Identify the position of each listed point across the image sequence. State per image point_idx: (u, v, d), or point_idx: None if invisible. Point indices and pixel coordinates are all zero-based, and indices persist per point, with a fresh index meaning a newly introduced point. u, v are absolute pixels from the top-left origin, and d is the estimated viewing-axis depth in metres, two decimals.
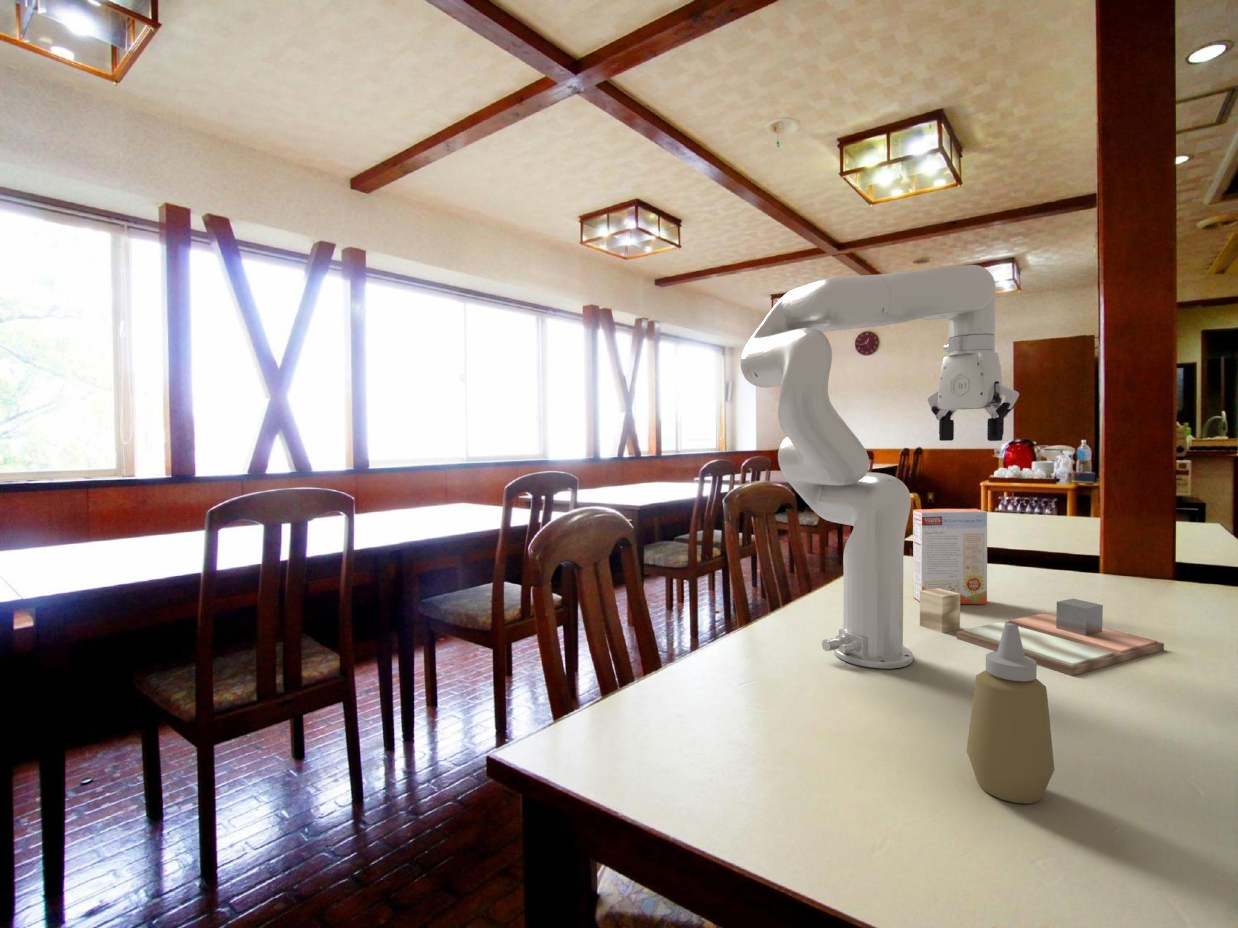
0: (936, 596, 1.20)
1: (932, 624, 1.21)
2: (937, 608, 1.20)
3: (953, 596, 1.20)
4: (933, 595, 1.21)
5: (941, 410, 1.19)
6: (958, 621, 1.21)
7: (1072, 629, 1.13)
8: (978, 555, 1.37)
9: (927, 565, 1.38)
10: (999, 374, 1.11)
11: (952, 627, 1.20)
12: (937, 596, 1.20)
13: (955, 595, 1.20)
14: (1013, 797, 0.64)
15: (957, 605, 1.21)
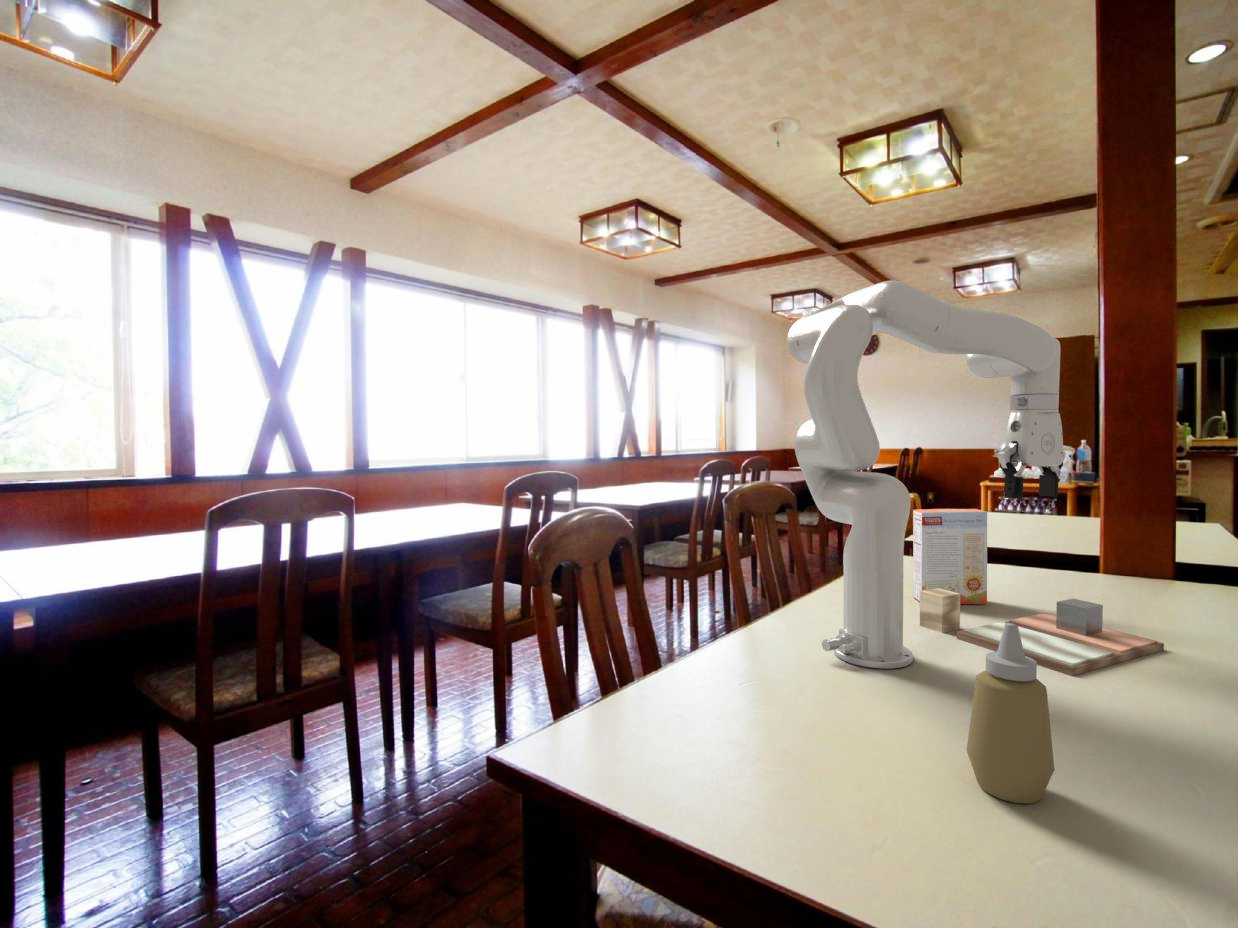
0: (936, 596, 1.20)
1: (932, 624, 1.21)
2: (937, 608, 1.20)
3: (953, 596, 1.20)
4: (933, 595, 1.21)
5: (1021, 467, 1.13)
6: (958, 622, 1.21)
7: (1072, 629, 1.13)
8: (978, 555, 1.37)
9: (927, 565, 1.38)
10: None
11: (952, 627, 1.20)
12: (937, 596, 1.20)
13: (955, 595, 1.20)
14: (1013, 797, 0.64)
15: (957, 605, 1.21)
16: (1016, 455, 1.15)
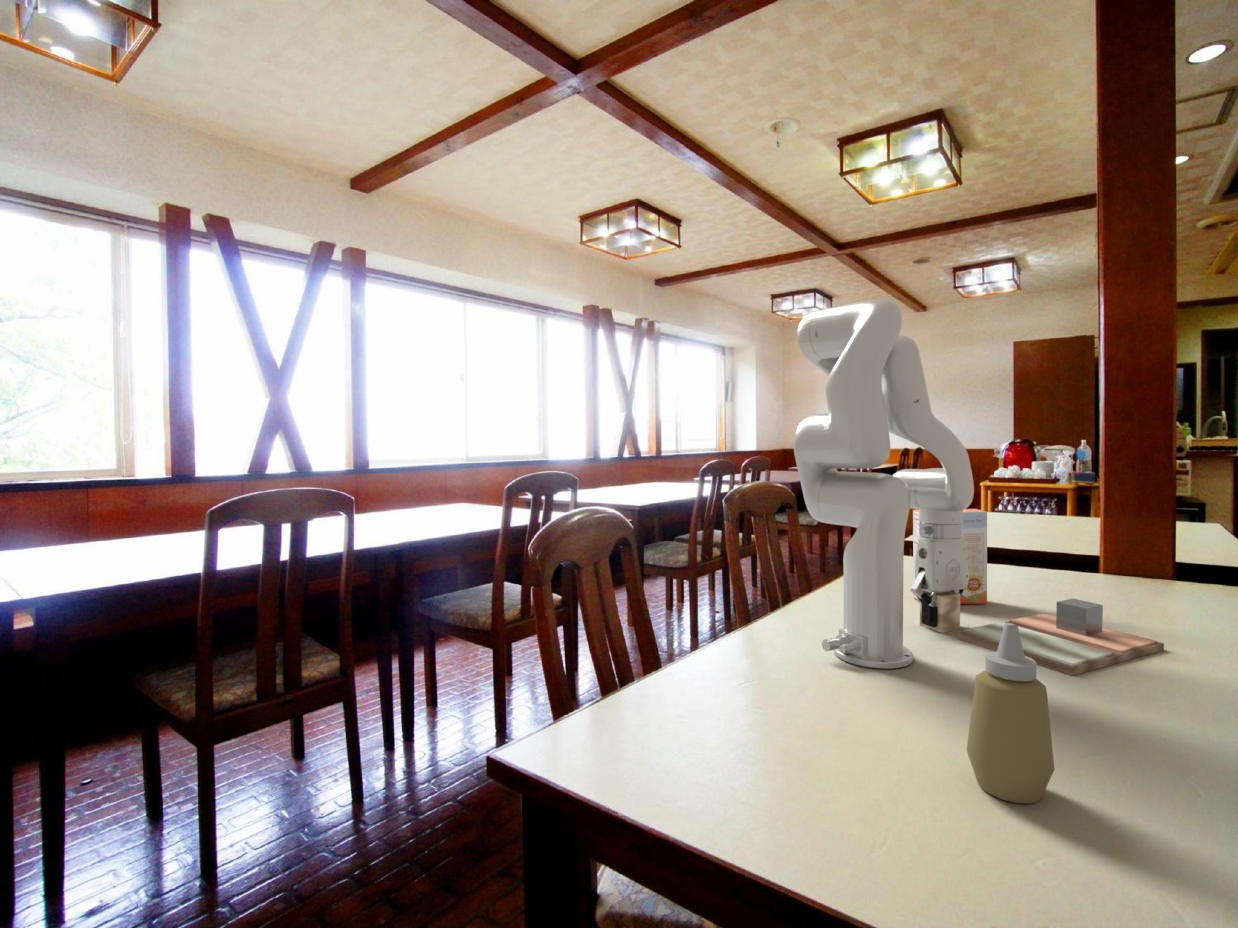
0: None
1: None
2: None
3: (953, 596, 1.20)
4: None
5: (935, 597, 1.20)
6: (958, 621, 1.21)
7: (1072, 629, 1.13)
8: (978, 555, 1.37)
9: None
10: None
11: (952, 627, 1.20)
12: (937, 596, 1.20)
13: (955, 595, 1.20)
14: (1013, 797, 0.64)
15: (957, 605, 1.21)
16: None
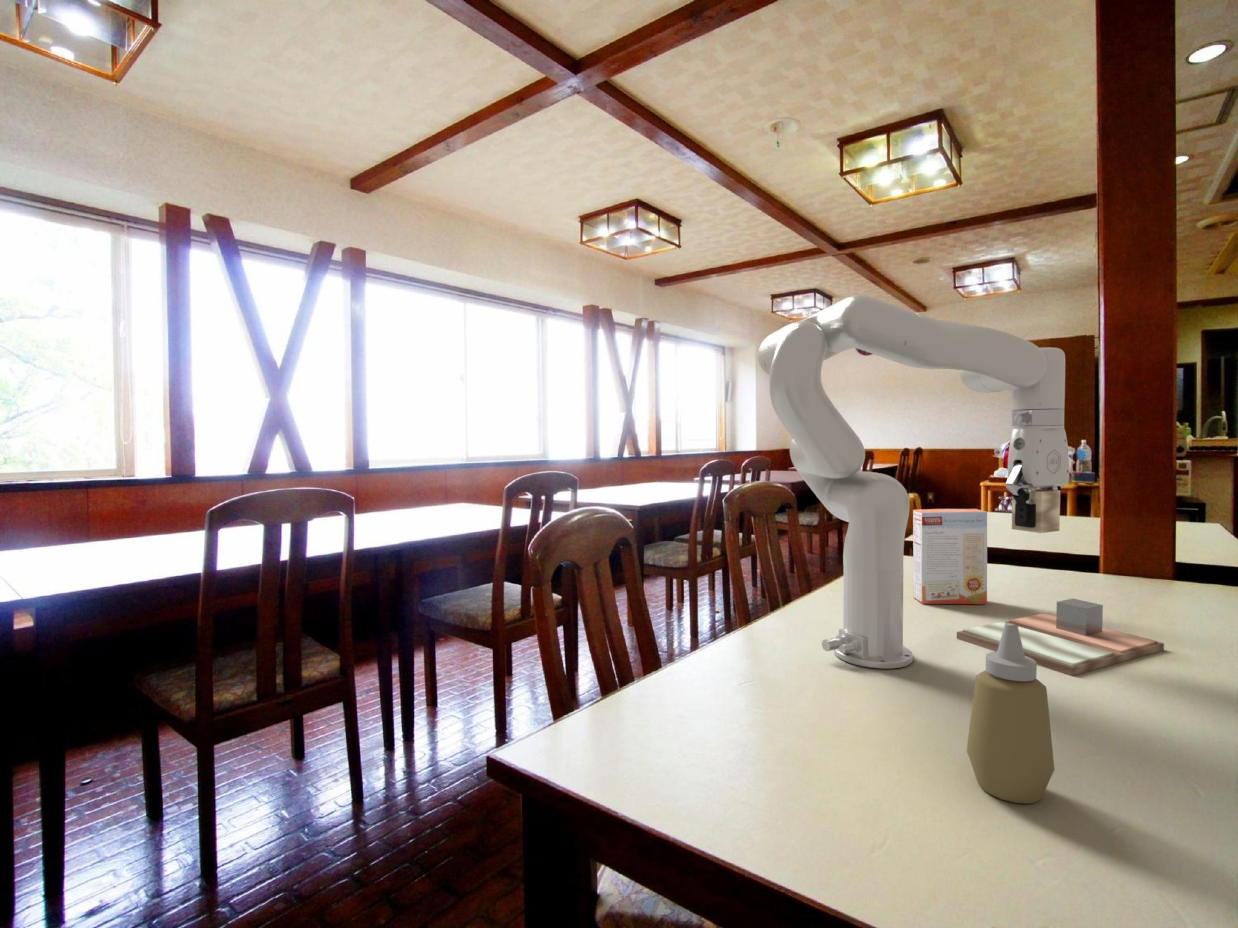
0: None
1: None
2: None
3: (1053, 492, 1.06)
4: None
5: (1033, 493, 1.06)
6: (1057, 522, 1.07)
7: (1072, 629, 1.13)
8: (978, 555, 1.37)
9: (927, 565, 1.38)
10: None
11: (1051, 528, 1.06)
12: (1035, 492, 1.06)
13: (1055, 491, 1.06)
14: (1013, 797, 0.64)
15: (1057, 503, 1.07)
16: (1021, 477, 1.07)
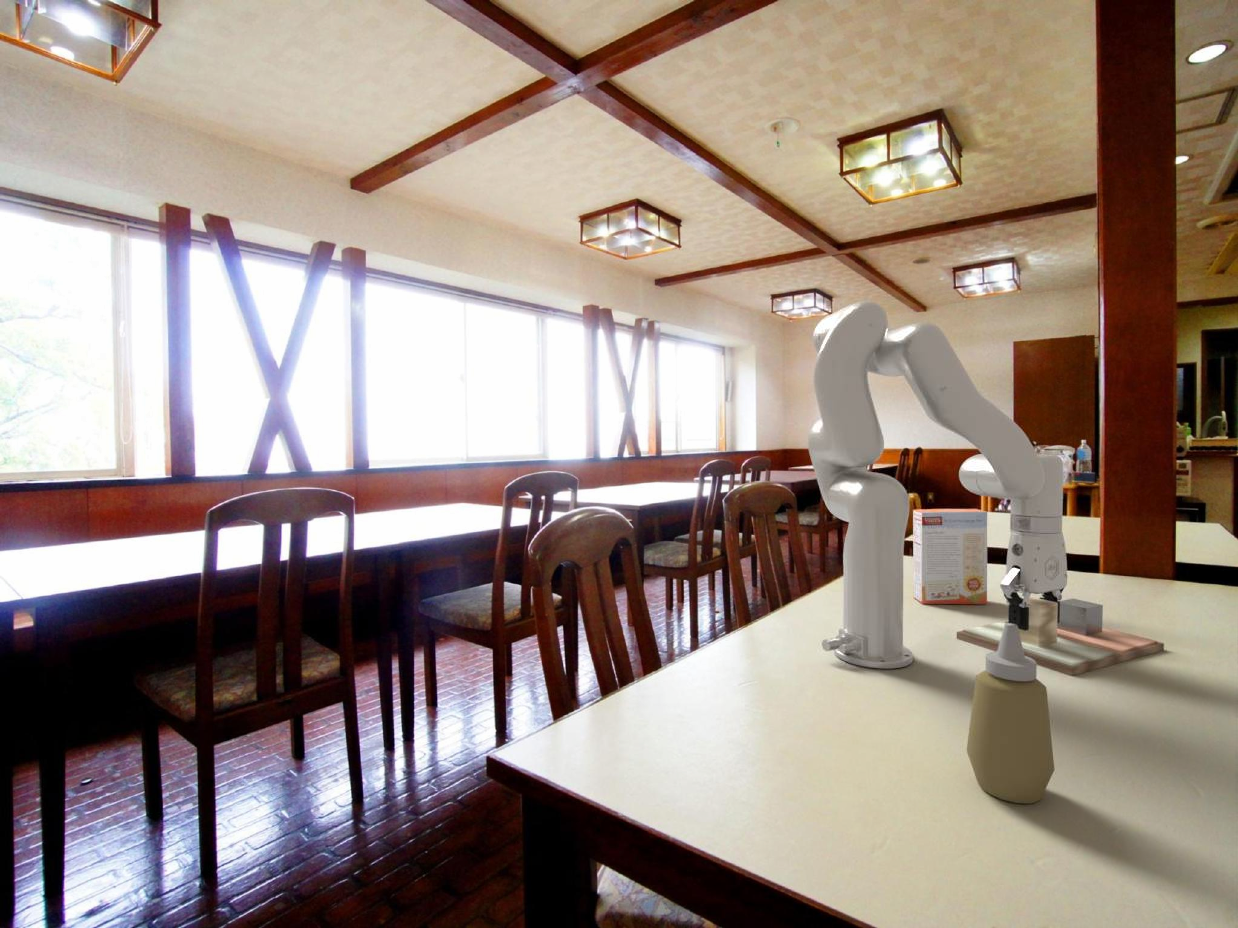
0: (1031, 605, 1.07)
1: (1026, 636, 1.08)
2: (1032, 619, 1.07)
3: (1050, 605, 1.07)
4: (1027, 604, 1.08)
5: (1026, 596, 1.06)
6: (1055, 634, 1.08)
7: (1072, 629, 1.13)
8: (978, 555, 1.37)
9: (927, 565, 1.38)
10: None
11: (1049, 640, 1.07)
12: (1033, 605, 1.07)
13: (1052, 604, 1.07)
14: (1013, 797, 0.64)
15: (1054, 616, 1.08)
16: (1018, 579, 1.08)
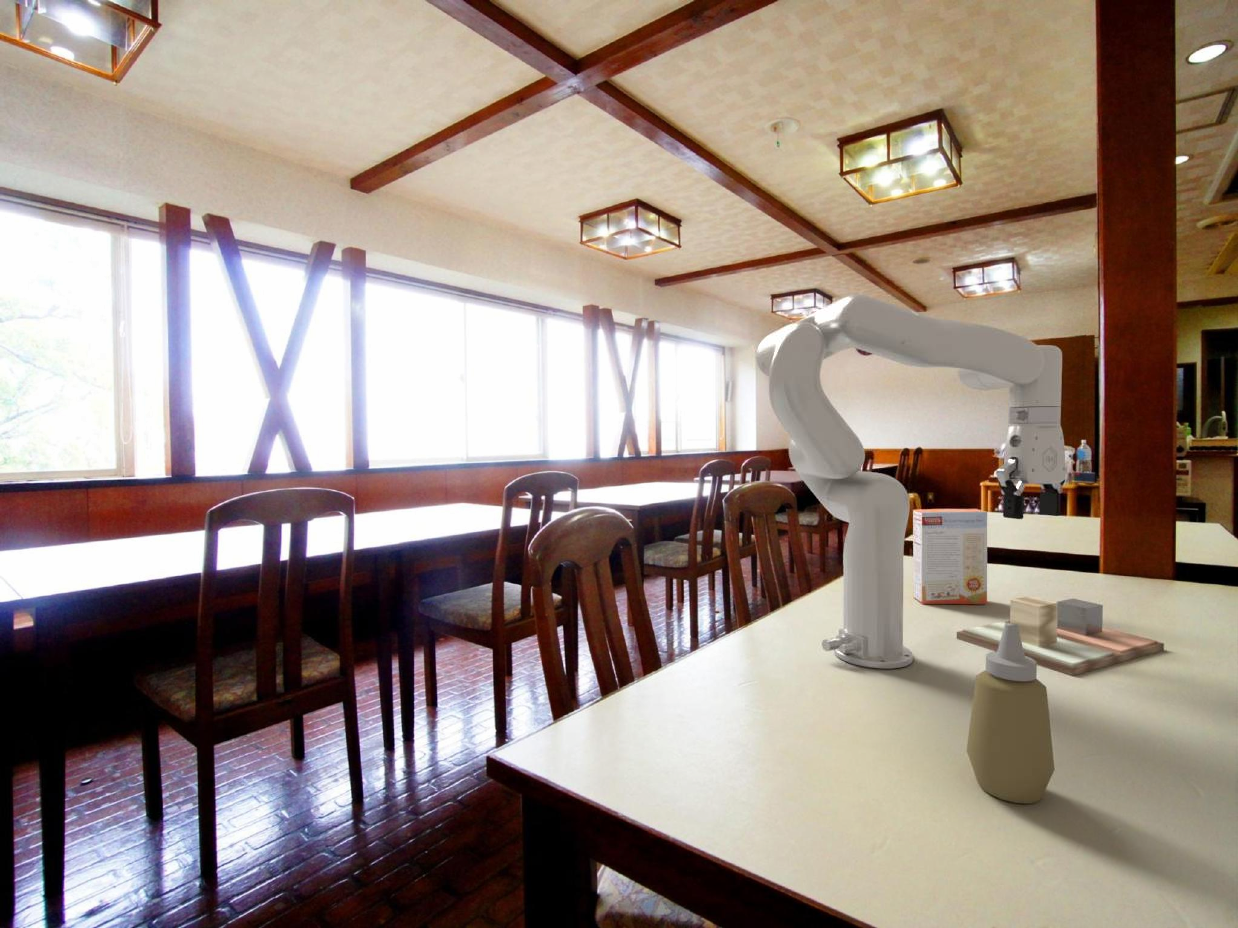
0: (1031, 605, 1.07)
1: (1026, 636, 1.08)
2: (1032, 619, 1.07)
3: (1050, 605, 1.07)
4: (1027, 604, 1.08)
5: (1021, 485, 1.05)
6: (1055, 634, 1.08)
7: (1072, 629, 1.13)
8: (978, 555, 1.37)
9: (927, 565, 1.38)
10: None
11: (1049, 640, 1.07)
12: (1033, 605, 1.07)
13: (1052, 604, 1.07)
14: (1013, 797, 0.64)
15: (1054, 616, 1.08)
16: (1016, 472, 1.08)
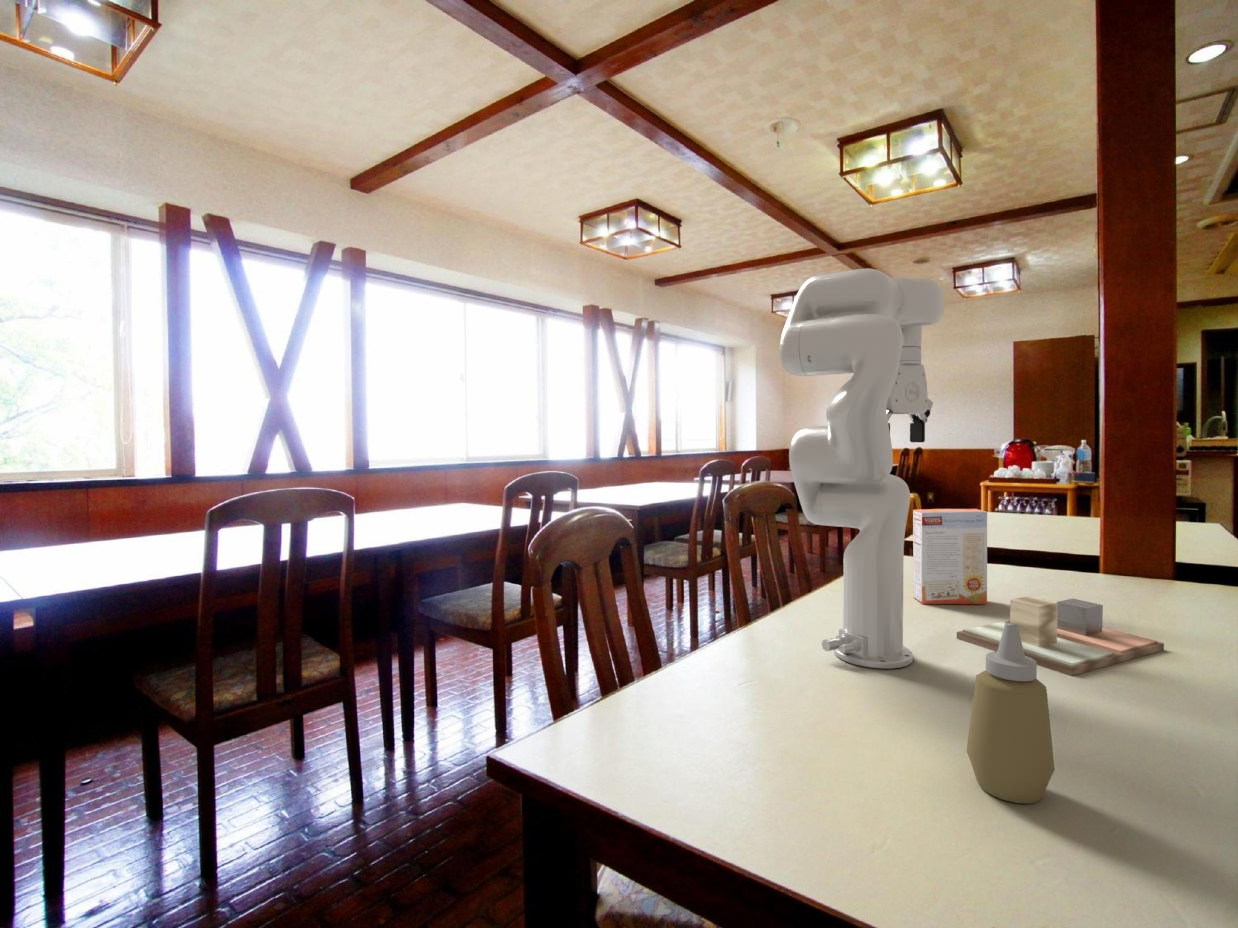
0: (1031, 605, 1.07)
1: (1026, 636, 1.08)
2: (1032, 619, 1.07)
3: (1050, 605, 1.07)
4: (1027, 604, 1.08)
5: (888, 414, 1.24)
6: (1055, 634, 1.08)
7: (1072, 629, 1.13)
8: (978, 555, 1.37)
9: (927, 565, 1.38)
10: None
11: (1049, 640, 1.07)
12: (1033, 605, 1.07)
13: (1052, 604, 1.07)
14: (1013, 797, 0.64)
15: (1054, 616, 1.08)
16: None
